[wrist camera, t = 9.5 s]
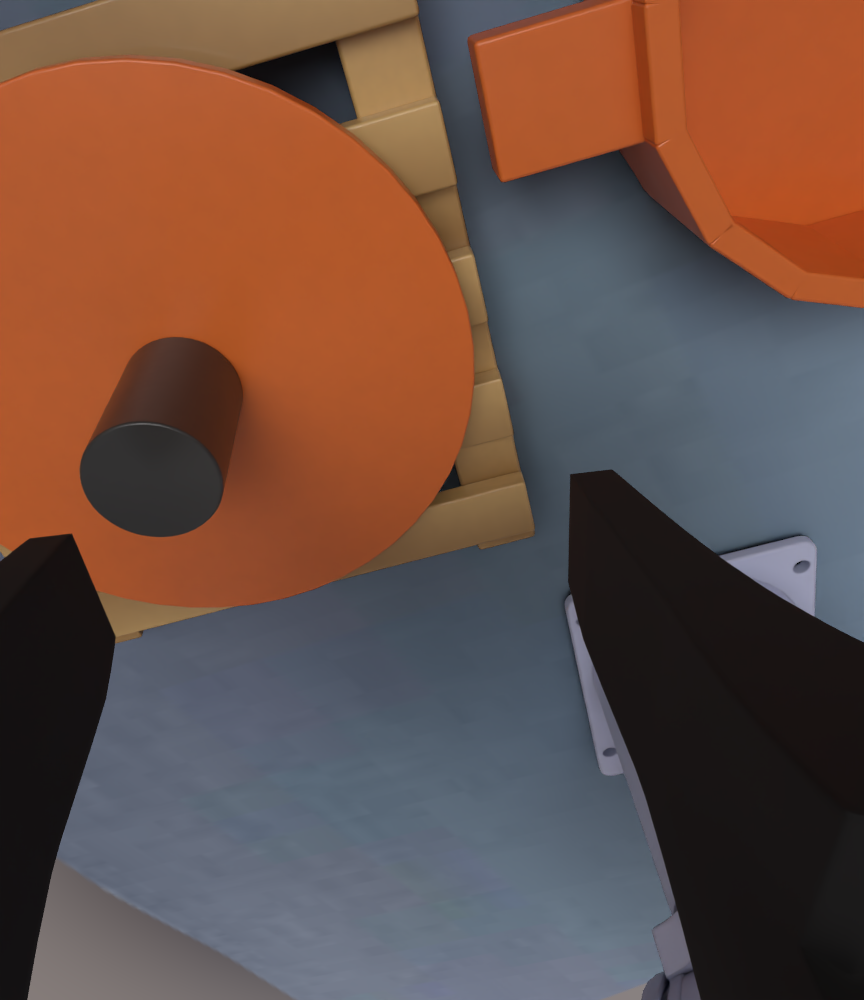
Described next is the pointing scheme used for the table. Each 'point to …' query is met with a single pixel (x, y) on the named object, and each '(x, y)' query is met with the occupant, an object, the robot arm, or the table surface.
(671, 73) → the pot
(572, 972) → the table surface
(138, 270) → the lid
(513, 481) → the rack
